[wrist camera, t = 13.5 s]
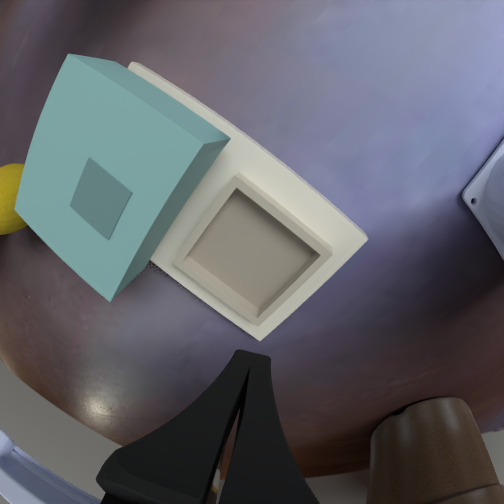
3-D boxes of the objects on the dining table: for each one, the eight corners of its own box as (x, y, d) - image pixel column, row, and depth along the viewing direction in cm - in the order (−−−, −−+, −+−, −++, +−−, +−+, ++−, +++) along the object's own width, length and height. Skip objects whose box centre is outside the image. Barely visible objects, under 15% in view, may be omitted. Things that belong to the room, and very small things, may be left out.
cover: (231, 138, 15) (202, 144, 11) (144, 268, 20) (109, 303, 16) (115, 61, 14) (66, 53, 10) (56, 191, 19) (13, 210, 15)
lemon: (55, 225, 23) (-9, 262, 16) (22, 196, 23) (-39, 225, 15) (68, 172, 21) (-7, 200, 13) (32, 145, 20) (-38, 165, 13)
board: (365, 233, 18) (372, 246, 16) (261, 333, 23) (257, 351, 21) (139, 63, 16) (121, 58, 14) (76, 187, 21) (59, 194, 19)
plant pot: (460, 444, 27) (476, 539, 12) (350, 465, 31) (344, 570, 16) (500, 366, 21) (549, 492, 6) (355, 396, 25) (356, 558, 10)
